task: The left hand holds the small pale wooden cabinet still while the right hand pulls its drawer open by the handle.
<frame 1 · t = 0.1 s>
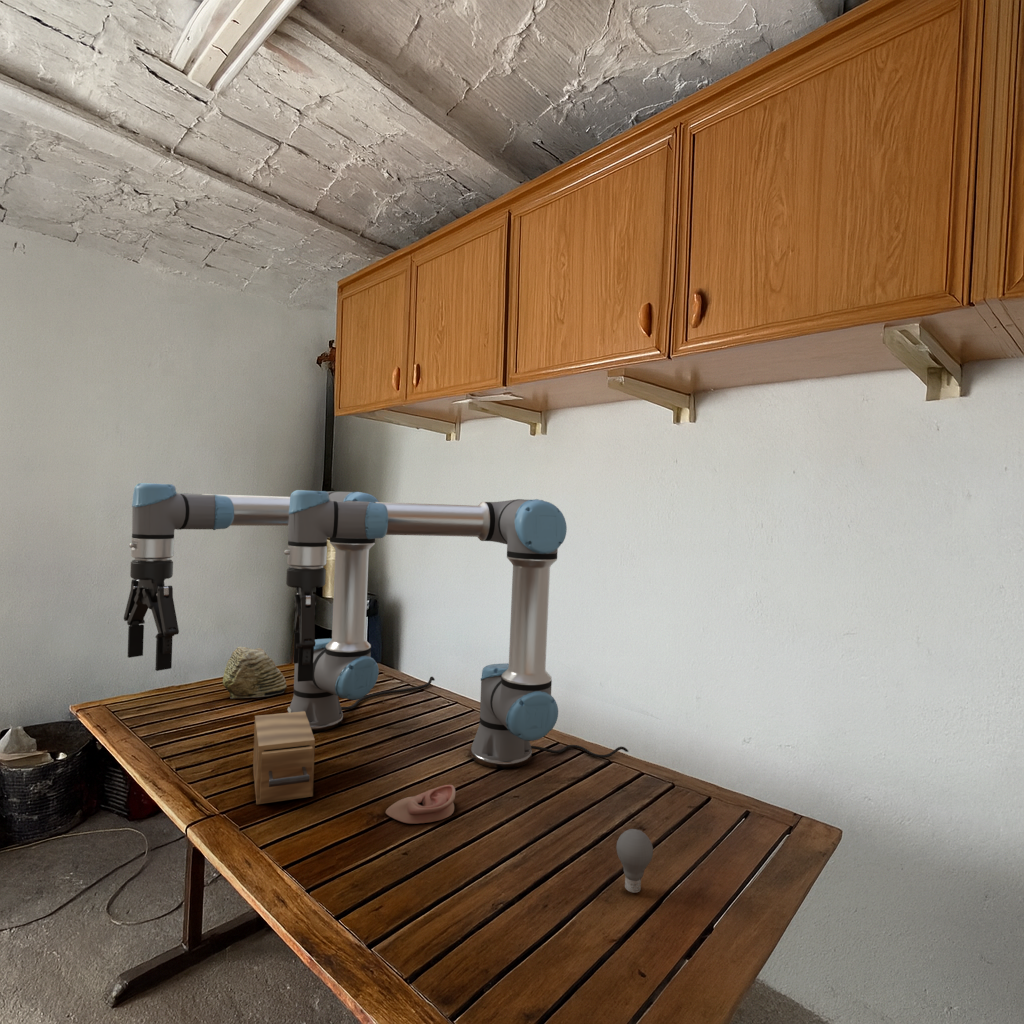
left hand: (148, 662, 129), 28 cm above the table, tool pointing down, fingers open, 13 cm apart
right hand: (302, 671, 128), 28 cm above the table, tool pointing down, fingers open, 13 cm apart
light bulb: (632, 891, 106), on the table
anatomical model: (420, 811, 129), on the table
fossil: (254, 694, 198), on the table
cabinet: (281, 781, 140), on the table
drawer: (284, 764, 135), point 6 cm above the table, slide at 0.6 cm
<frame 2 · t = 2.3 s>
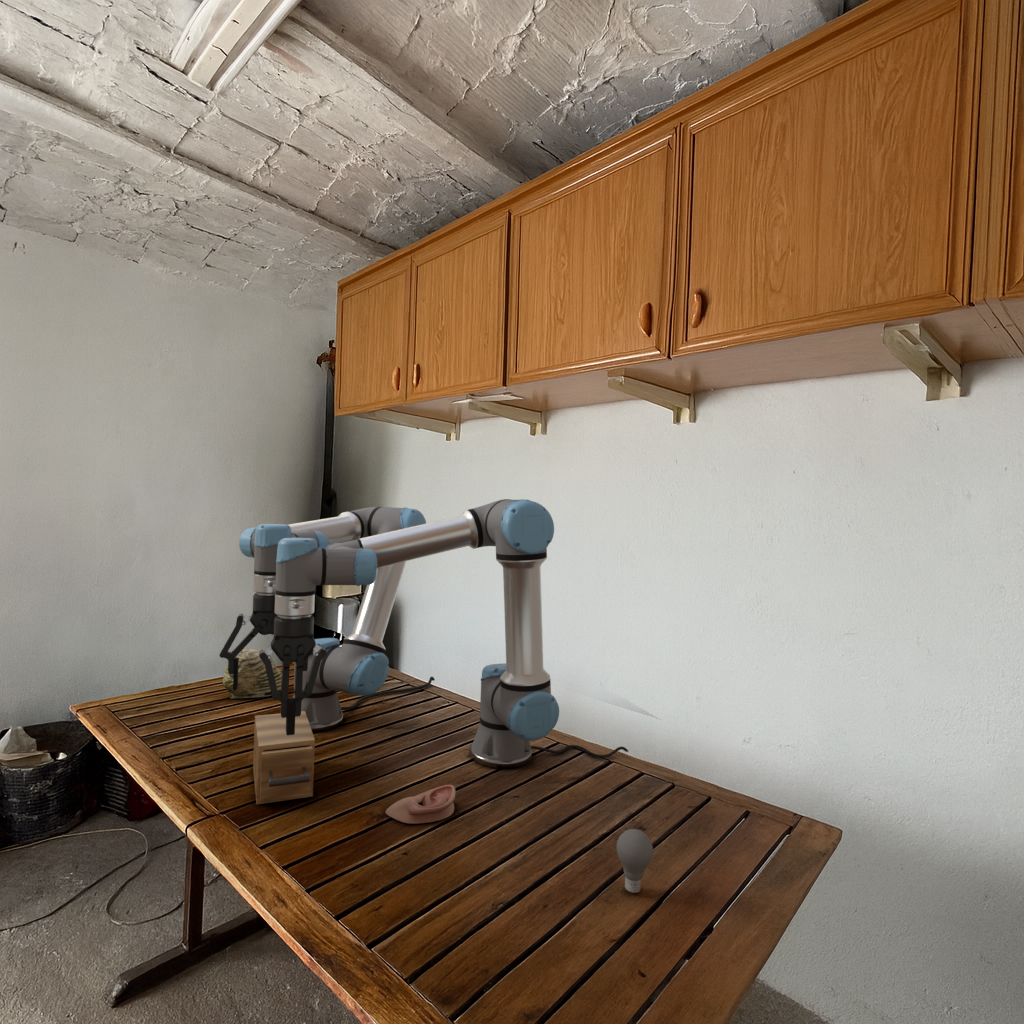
left hand: (268, 686, 143), 20 cm above the table, tool pointing down, fingers open, 13 cm apart
right hand: (290, 732, 127), 16 cm above the table, tool pointing down, fingers closed
nothing on the table moved.
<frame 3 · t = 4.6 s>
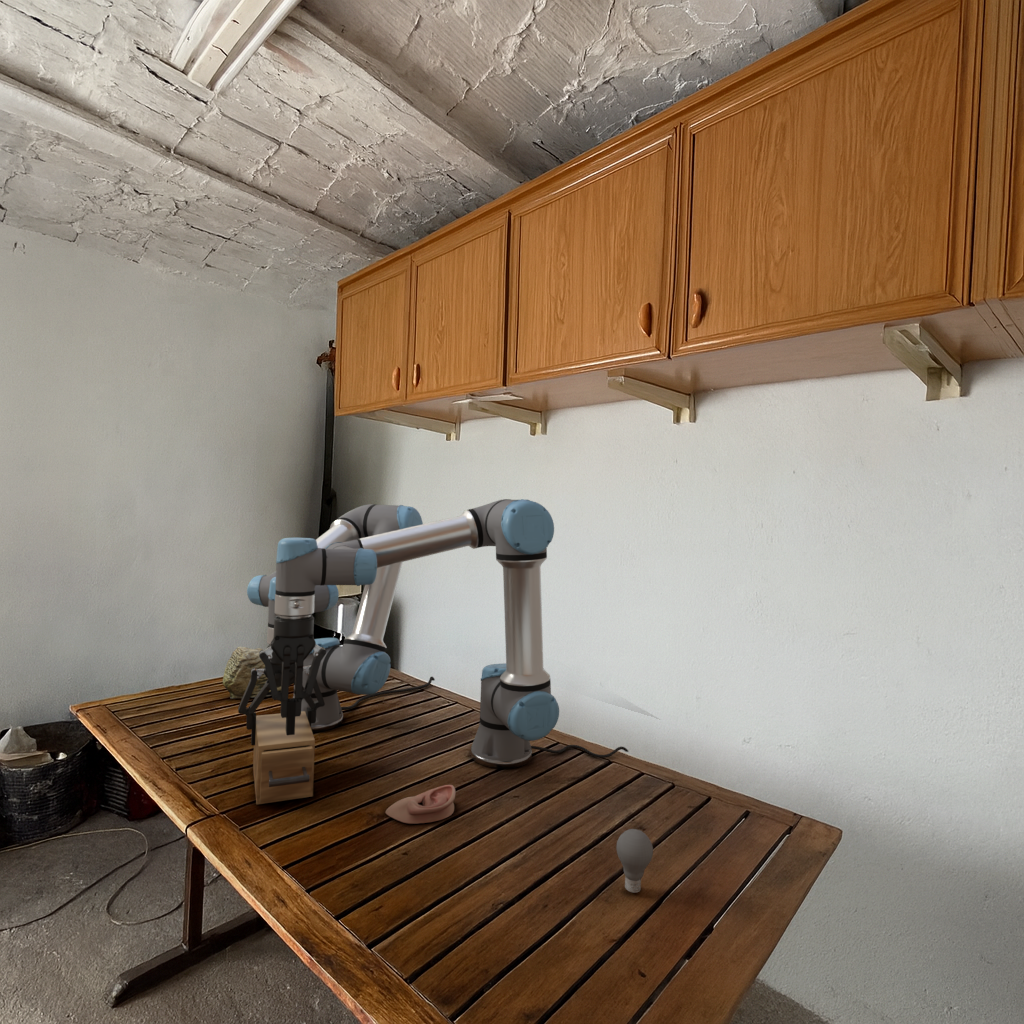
left hand: (281, 740, 145), 7 cm above the table, tool pointing down, fingers closed on cabinet, 11 cm apart
right hand: (290, 732, 127), 16 cm above the table, tool pointing down, fingers closed
cabinet: (281, 781, 140), on the table, touching left hand
everything else where it was.
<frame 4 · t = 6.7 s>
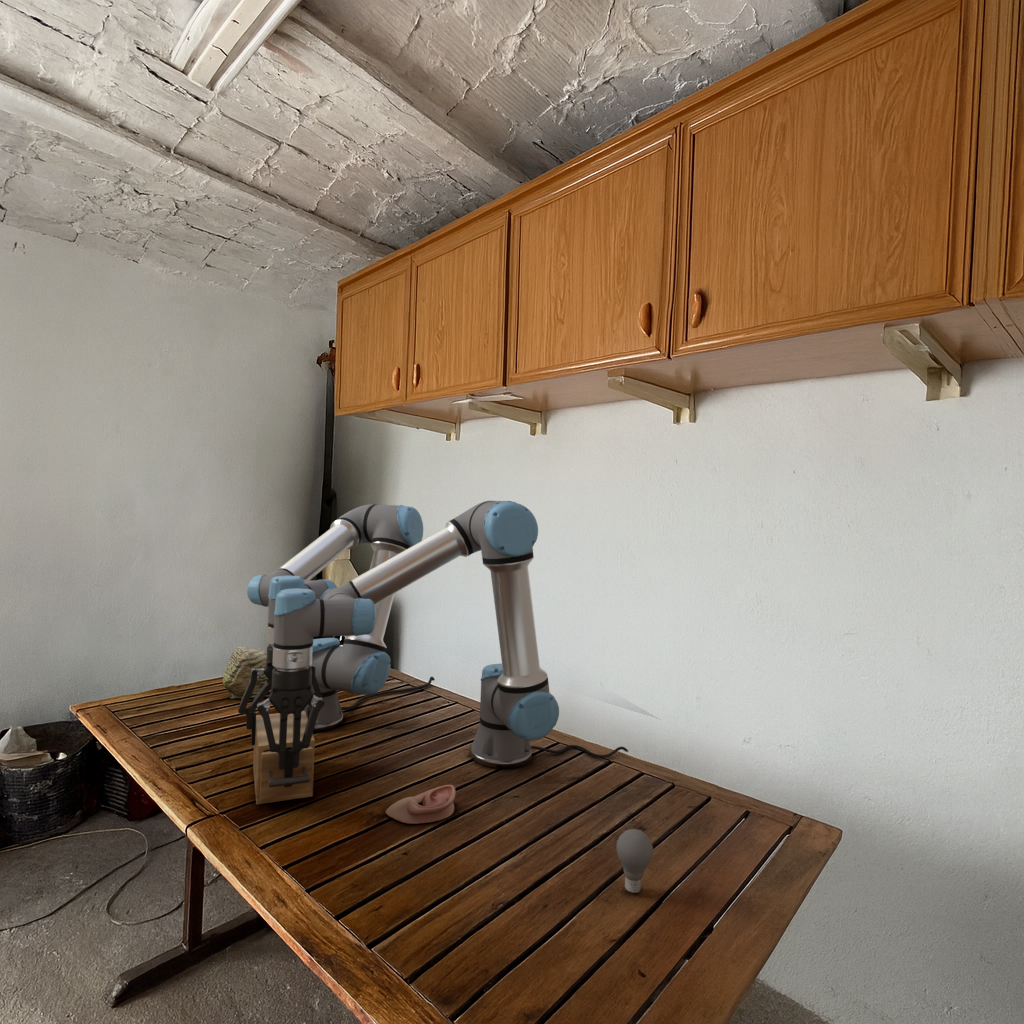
left hand: (280, 739, 145), 7 cm above the table, tool pointing down, fingers closed on cabinet, 11 cm apart
right hand: (287, 783, 127), 6 cm above the table, tool pointing down, fingers closed
cabinet: (281, 781, 140), on the table, touching left hand
drawer: (284, 764, 135), point 6 cm above the table, slide at 0.7 cm, touching right hand
everything else where it was.
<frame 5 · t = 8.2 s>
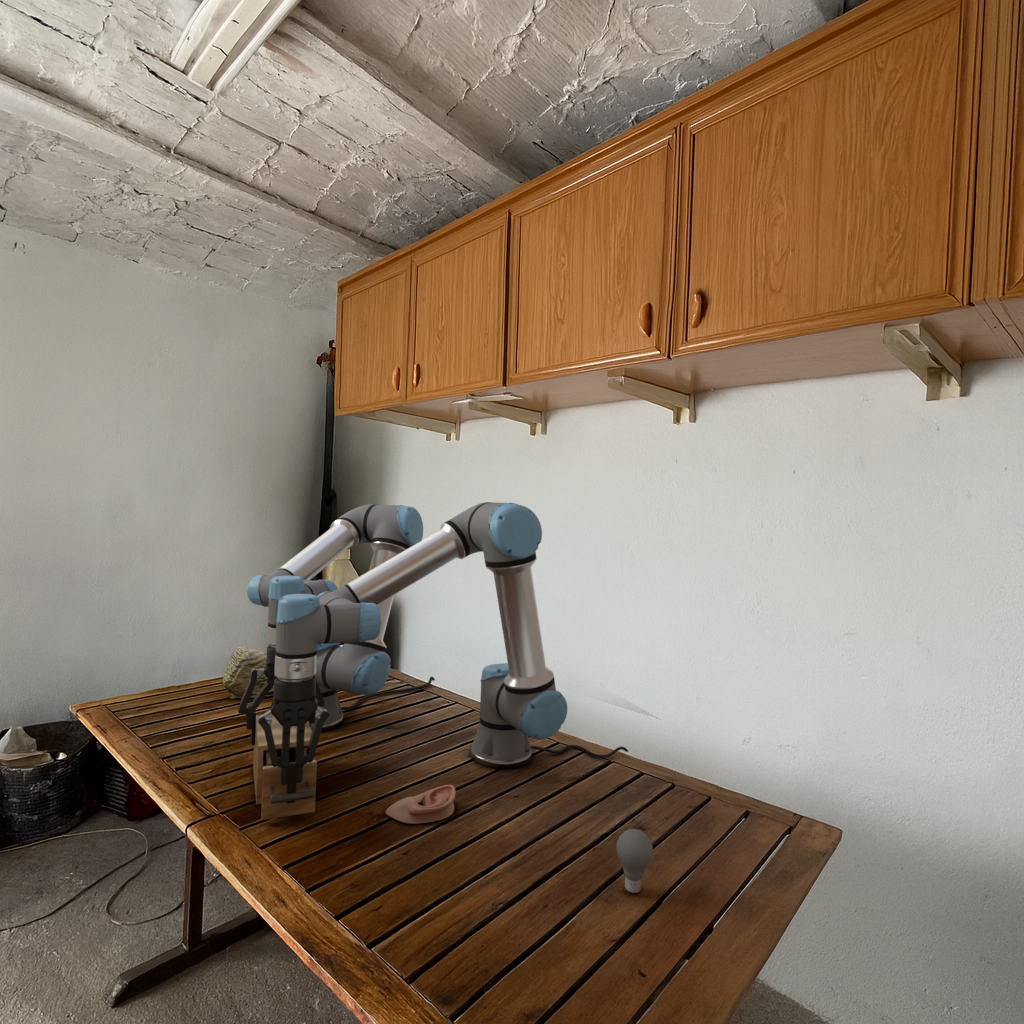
left hand: (280, 740, 144), 7 cm above the table, tool pointing down, fingers closed on cabinet, 11 cm apart
right hand: (290, 799, 121), 6 cm above the table, tool pointing down, fingers closed
cabinet: (281, 781, 140), on the table, touching left hand
drawer: (287, 778, 129), point 6 cm above the table, slide at 7.7 cm, touching right hand
everything else where it was.
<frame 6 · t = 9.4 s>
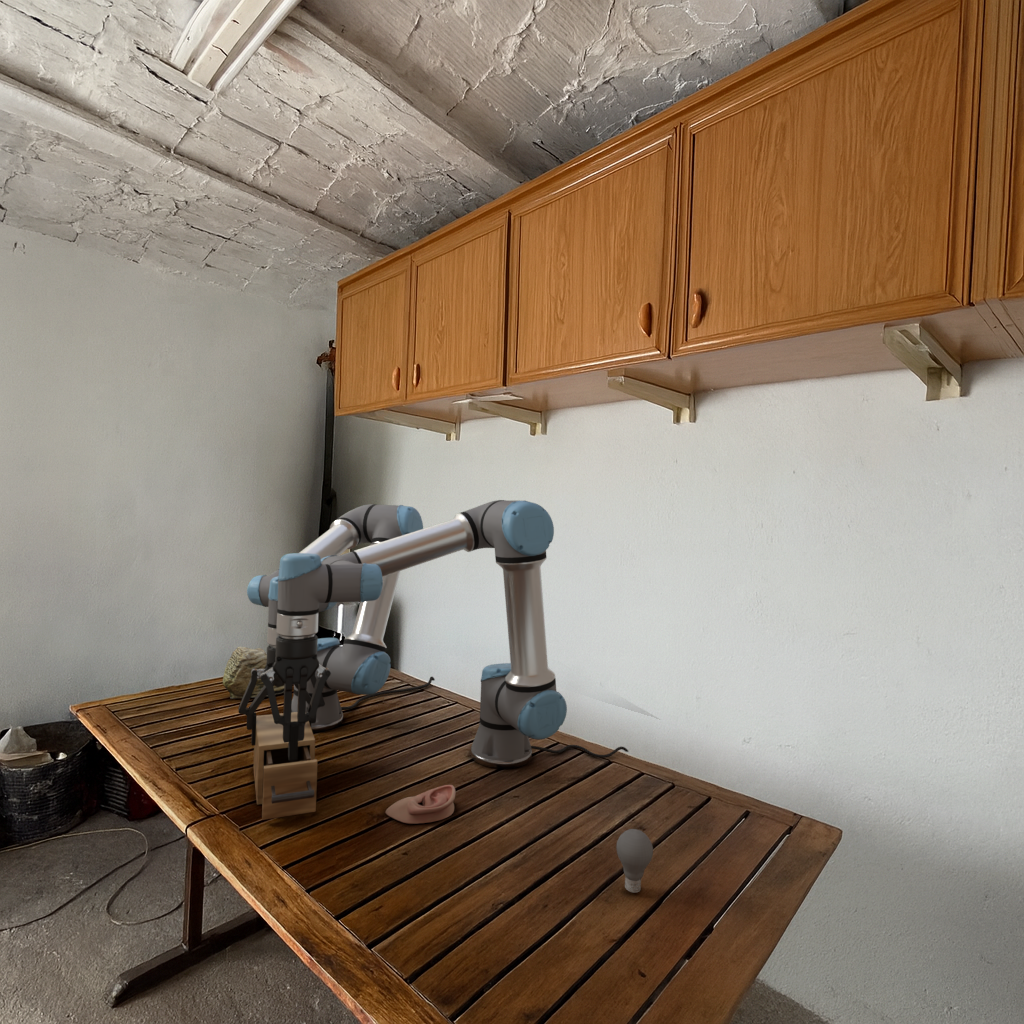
left hand: (281, 740, 144), 7 cm above the table, tool pointing down, fingers closed on cabinet, 11 cm apart
right hand: (292, 757, 121), 13 cm above the table, tool pointing down, fingers closed
cabinet: (282, 781, 140), on the table, touching left hand
drawer: (287, 777, 129), point 6 cm above the table, slide at 7.7 cm
everything else where it was.
when the left hand's fingers open (7 cm above the table, at t = 9.9 s): cabinet stays where it is, on the table.
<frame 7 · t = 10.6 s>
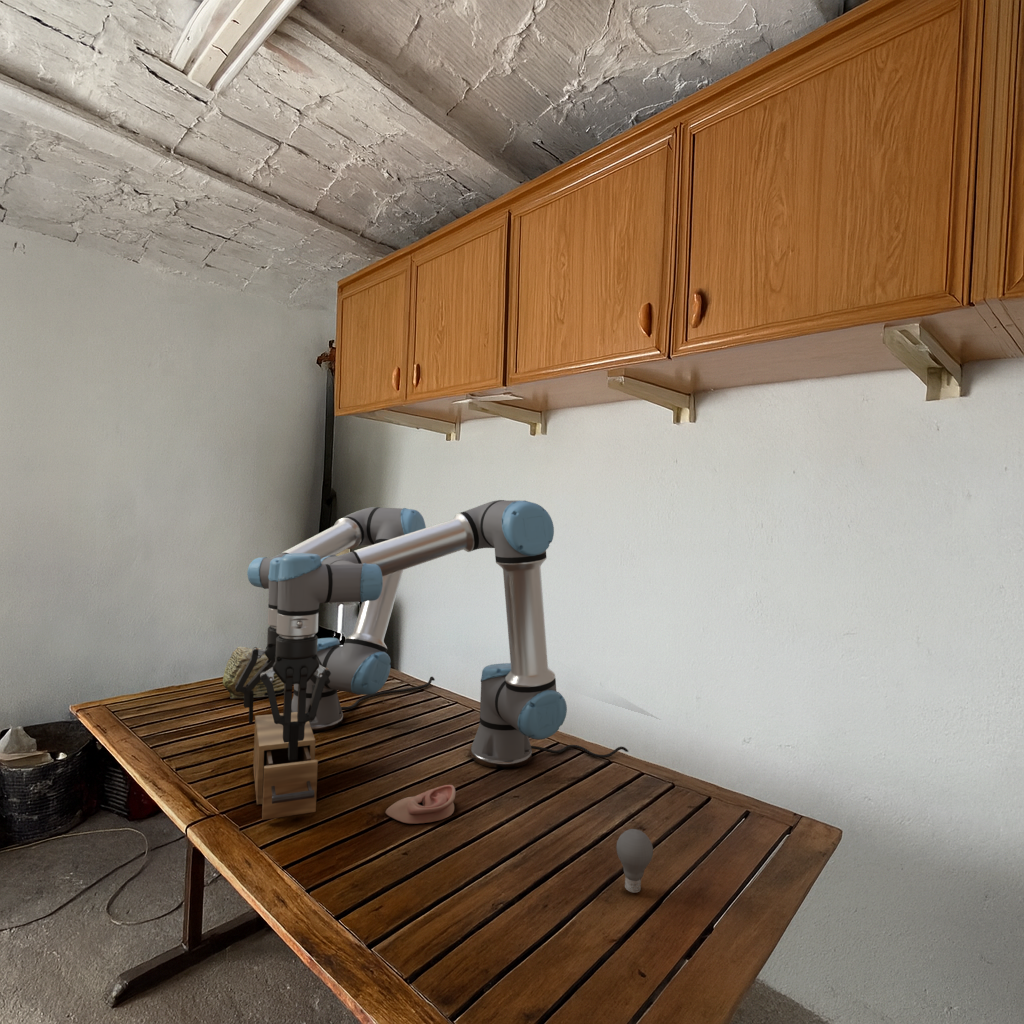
left hand: (282, 717, 145), 12 cm above the table, tool pointing down, fingers open, 13 cm apart
right hand: (292, 757, 121), 13 cm above the table, tool pointing down, fingers closed
cabinet: (281, 781, 140), on the table
everything else where it was.
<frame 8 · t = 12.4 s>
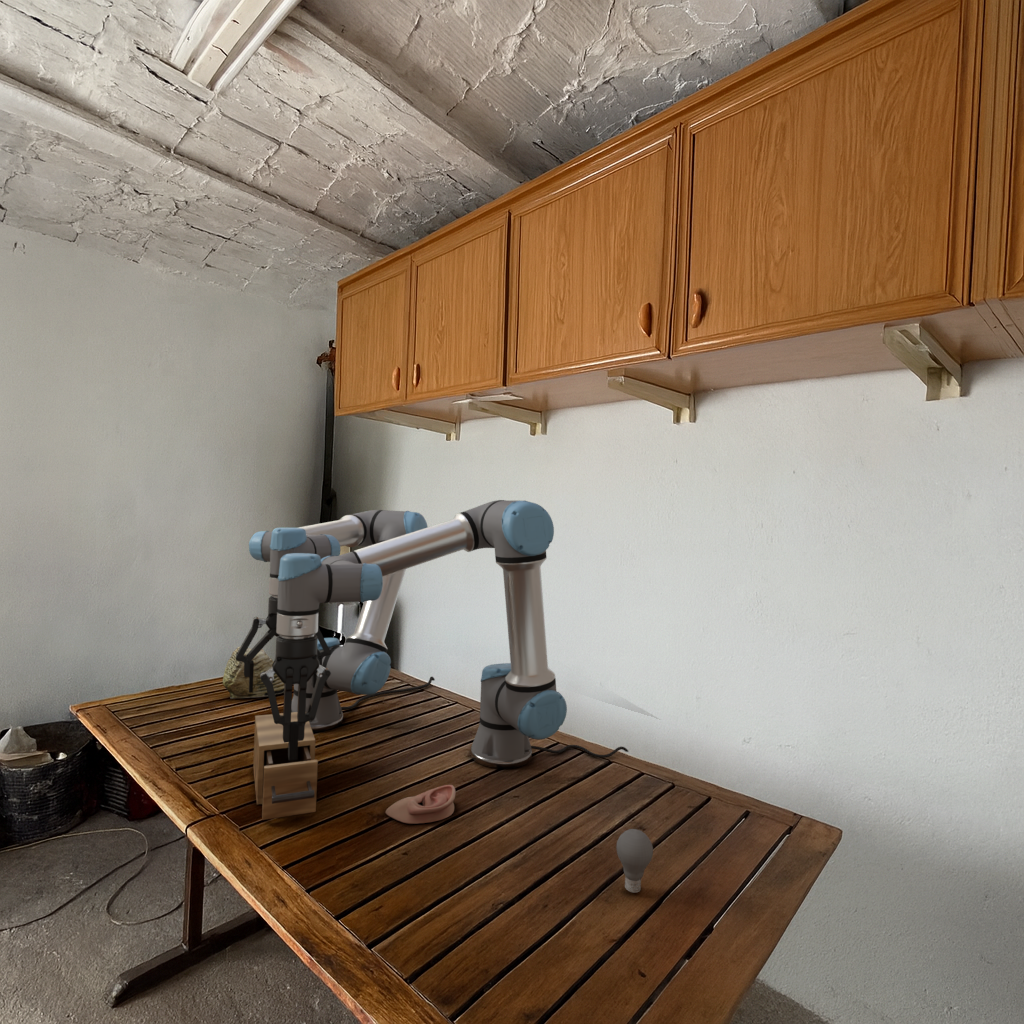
left hand: (282, 688, 144), 19 cm above the table, tool pointing down, fingers open, 13 cm apart
right hand: (292, 757, 121), 13 cm above the table, tool pointing down, fingers closed
nothing on the table moved.
at the end: drawer slide at 7.7 cm; cabinet tilted 0°; cabinet never tilted more than 1° during the clip; cabinet moved 0.1 cm from its start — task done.
